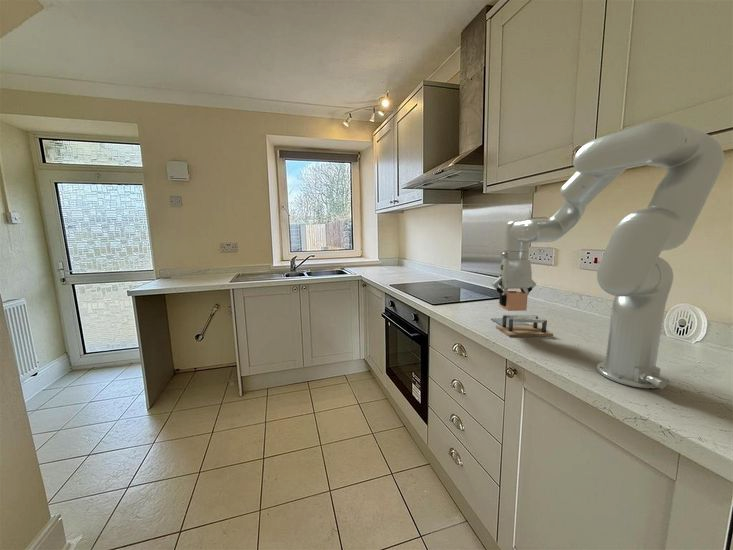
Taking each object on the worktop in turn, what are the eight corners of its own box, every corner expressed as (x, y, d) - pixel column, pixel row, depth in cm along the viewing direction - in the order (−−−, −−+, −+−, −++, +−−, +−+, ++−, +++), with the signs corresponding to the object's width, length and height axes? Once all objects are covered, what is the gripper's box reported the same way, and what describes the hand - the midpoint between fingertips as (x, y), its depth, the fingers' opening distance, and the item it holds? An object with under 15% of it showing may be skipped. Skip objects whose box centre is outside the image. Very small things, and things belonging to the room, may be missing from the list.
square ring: (526, 310, 103) (527, 293, 102) (508, 310, 102) (509, 294, 101) (516, 305, 109) (517, 290, 108) (498, 306, 109) (499, 290, 108)
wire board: (553, 335, 104) (553, 333, 104) (509, 336, 103) (509, 334, 103) (535, 326, 114) (535, 324, 114) (495, 327, 113) (495, 325, 113)
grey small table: (546, 332, 104) (548, 320, 104) (513, 333, 104) (514, 321, 103) (532, 325, 113) (533, 313, 112) (501, 326, 112) (502, 314, 111)
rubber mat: (529, 325, 115) (529, 324, 115) (501, 326, 114) (502, 325, 114) (516, 319, 124) (516, 317, 123) (491, 319, 123) (491, 318, 123)
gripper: (497, 257, 99) (494, 308, 101) (546, 256, 100) (542, 307, 102) (487, 255, 106) (484, 303, 109) (533, 254, 107) (529, 302, 110)
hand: (512, 304), depth 106 cm, fingers closed on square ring, 6 cm apart
